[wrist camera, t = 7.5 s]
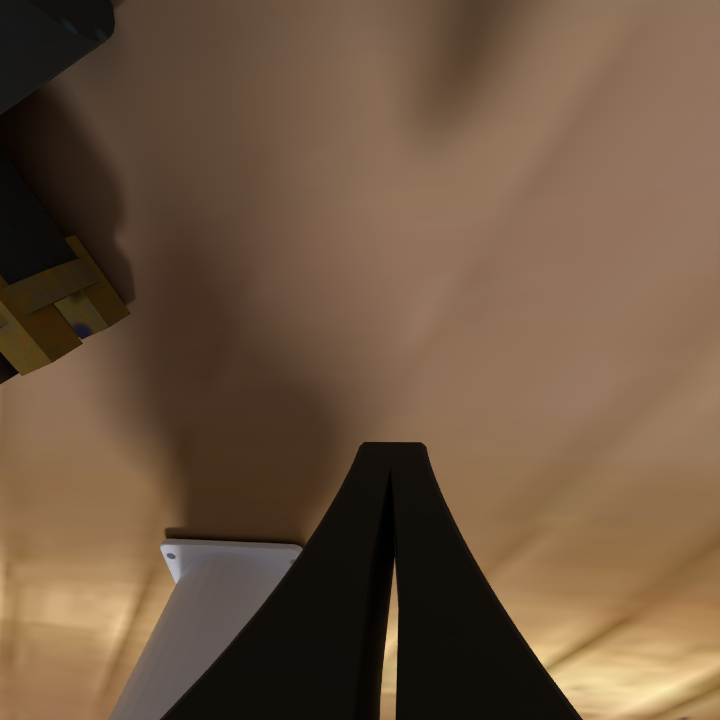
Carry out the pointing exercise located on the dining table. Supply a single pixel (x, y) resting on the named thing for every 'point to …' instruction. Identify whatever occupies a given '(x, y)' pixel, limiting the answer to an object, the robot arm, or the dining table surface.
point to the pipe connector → (26, 215)
